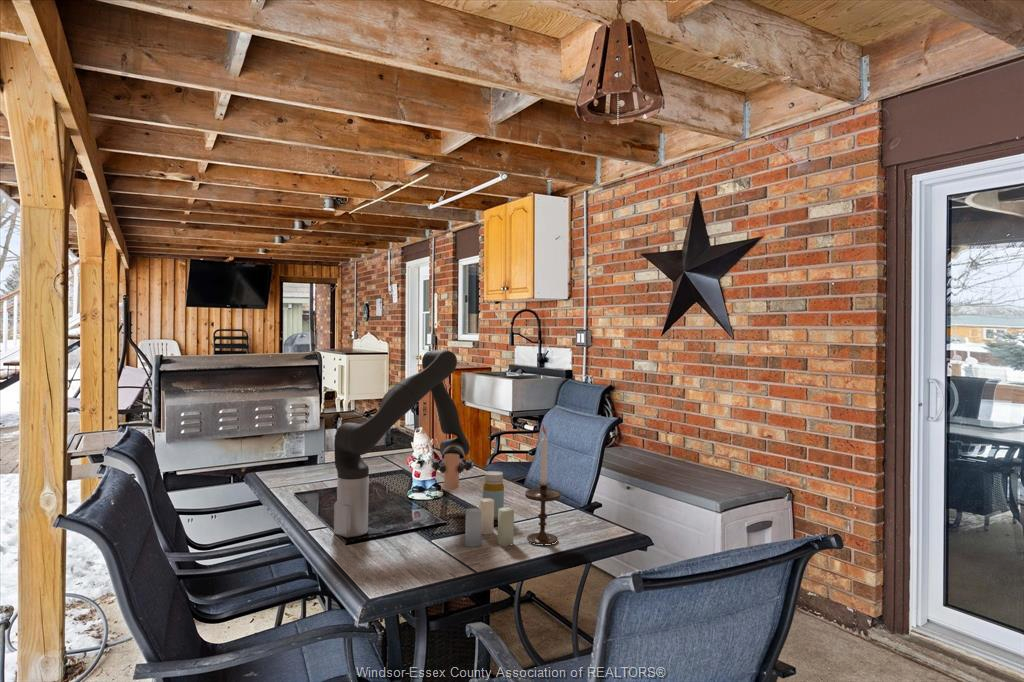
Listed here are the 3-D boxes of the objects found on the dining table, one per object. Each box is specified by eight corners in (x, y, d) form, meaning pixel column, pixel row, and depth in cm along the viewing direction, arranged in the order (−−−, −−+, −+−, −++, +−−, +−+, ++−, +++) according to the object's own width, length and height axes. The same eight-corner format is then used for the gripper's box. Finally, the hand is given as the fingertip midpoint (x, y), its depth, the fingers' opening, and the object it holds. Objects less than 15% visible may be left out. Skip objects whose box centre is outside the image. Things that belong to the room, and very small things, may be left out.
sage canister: (507, 547, 178) (507, 513, 178) (494, 544, 180) (495, 510, 180) (516, 543, 181) (517, 509, 181) (503, 539, 184) (504, 506, 184)
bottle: (485, 521, 201) (485, 476, 201) (480, 515, 208) (481, 471, 207) (505, 520, 203) (506, 475, 203) (500, 514, 210) (501, 470, 209)
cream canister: (487, 535, 187) (487, 503, 187) (475, 532, 190) (476, 500, 190) (496, 532, 191) (497, 500, 191) (484, 528, 194) (485, 497, 194)
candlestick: (530, 548, 177) (533, 427, 177) (519, 536, 188) (522, 421, 187) (565, 545, 180) (568, 426, 180) (553, 533, 191) (555, 420, 190)
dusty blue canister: (474, 548, 177) (474, 513, 176) (461, 544, 179) (462, 510, 179) (484, 543, 180) (484, 509, 180) (472, 540, 183) (472, 507, 183)
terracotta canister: (451, 489, 187) (452, 457, 187) (440, 487, 190) (441, 455, 189) (461, 486, 191) (462, 454, 190) (450, 484, 193) (451, 452, 193)
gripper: (431, 446, 204) (428, 457, 187) (475, 446, 205) (475, 457, 188) (431, 468, 204) (427, 482, 187) (474, 469, 205) (474, 482, 188)
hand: (451, 469), depth 187 cm, fingers closed on terracotta canister, 4 cm apart
